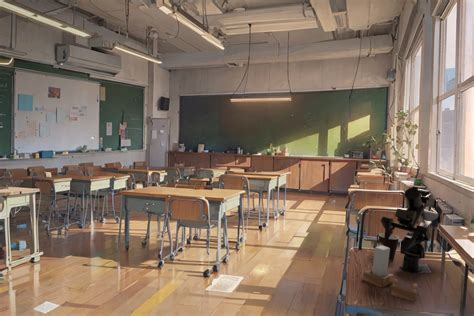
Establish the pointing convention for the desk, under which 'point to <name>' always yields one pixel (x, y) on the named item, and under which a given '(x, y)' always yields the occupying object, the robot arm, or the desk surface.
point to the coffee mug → (389, 243)
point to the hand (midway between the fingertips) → (395, 244)
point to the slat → (381, 261)
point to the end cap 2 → (403, 291)
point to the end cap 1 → (377, 278)
